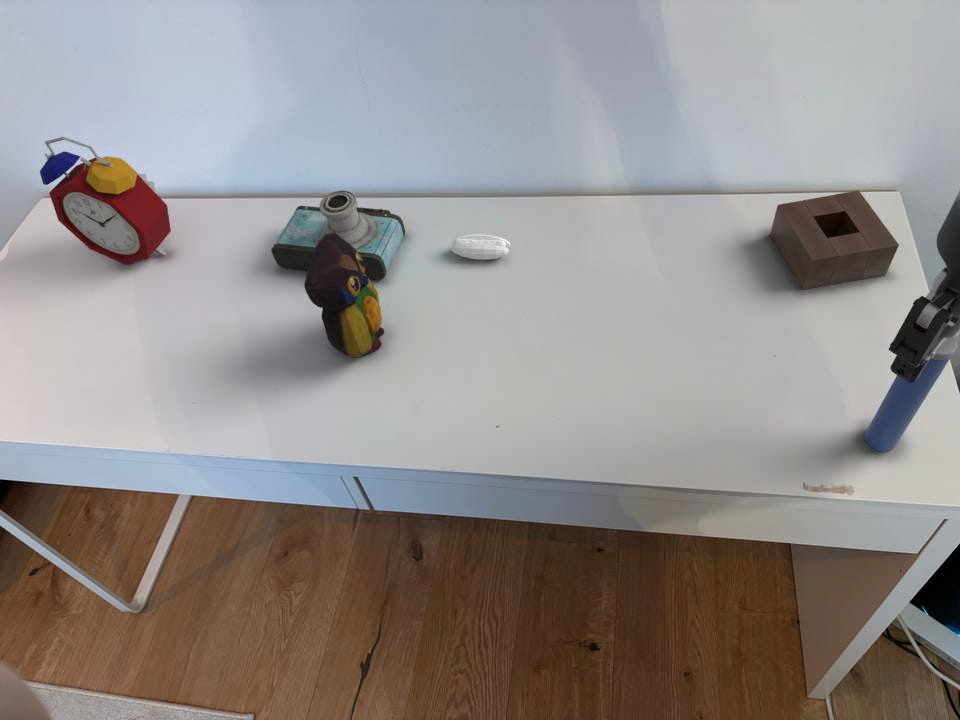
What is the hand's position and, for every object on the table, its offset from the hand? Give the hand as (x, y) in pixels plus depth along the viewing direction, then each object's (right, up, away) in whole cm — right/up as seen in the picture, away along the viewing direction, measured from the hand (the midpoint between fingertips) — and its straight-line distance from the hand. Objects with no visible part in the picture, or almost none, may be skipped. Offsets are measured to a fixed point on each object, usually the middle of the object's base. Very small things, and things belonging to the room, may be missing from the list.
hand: (932, 348), depth 64 cm
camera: (-59, +15, +40) cm, 73 cm away
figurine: (-55, +1, +29) cm, 62 cm away
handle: (+2, -9, +12) cm, 15 cm away
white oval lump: (-40, +13, +36) cm, 55 cm away
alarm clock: (-91, +16, +46) cm, 103 cm away
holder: (+4, +12, +29) cm, 31 cm away
